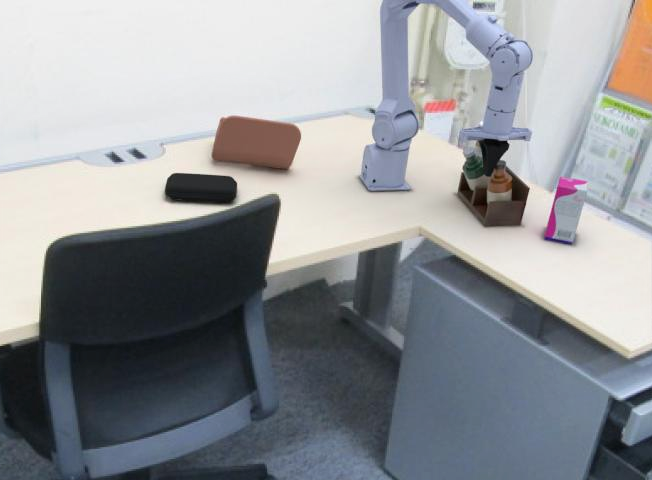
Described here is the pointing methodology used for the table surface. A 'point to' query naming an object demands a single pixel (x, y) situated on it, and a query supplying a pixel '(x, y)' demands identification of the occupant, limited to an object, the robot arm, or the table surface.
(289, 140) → the brown block
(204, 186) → the carrying case
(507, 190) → the amber bottle
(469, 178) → the dark green bottle
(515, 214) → the rack
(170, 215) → the table surface
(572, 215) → the supplement box
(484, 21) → the robot arm
